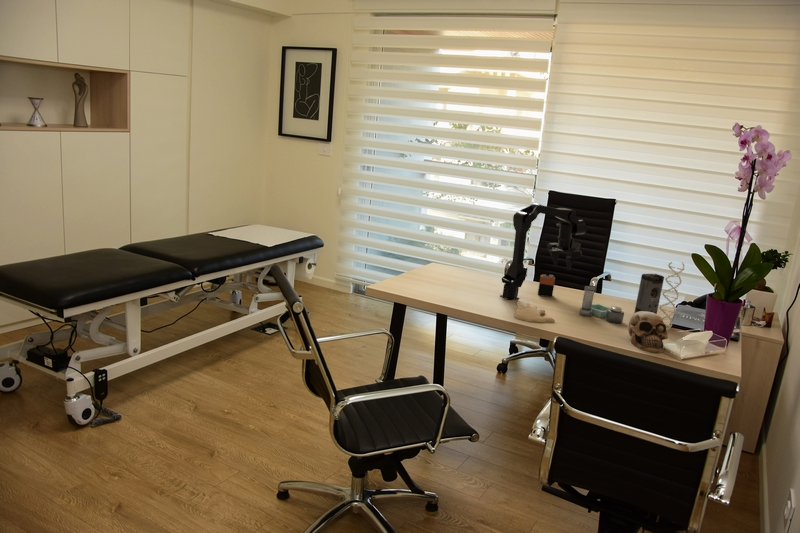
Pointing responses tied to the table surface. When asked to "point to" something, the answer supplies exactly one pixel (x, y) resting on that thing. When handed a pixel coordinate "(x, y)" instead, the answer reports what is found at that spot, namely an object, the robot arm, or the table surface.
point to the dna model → (671, 297)
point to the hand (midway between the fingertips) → (562, 267)
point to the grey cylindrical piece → (587, 302)
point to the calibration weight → (614, 315)
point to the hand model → (531, 314)
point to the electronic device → (649, 293)
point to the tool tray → (599, 310)
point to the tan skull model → (647, 331)
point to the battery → (546, 285)
